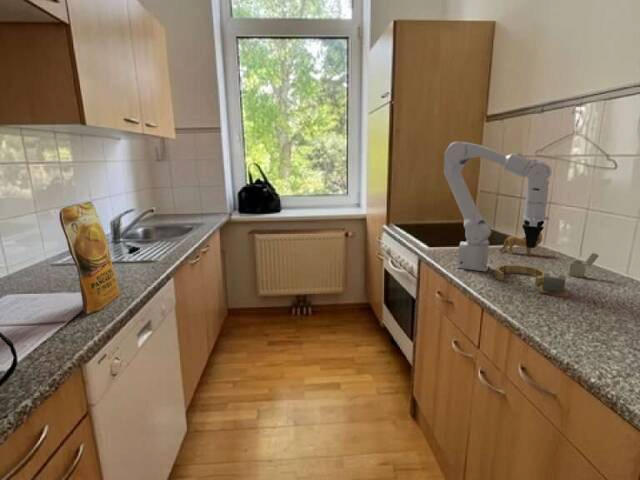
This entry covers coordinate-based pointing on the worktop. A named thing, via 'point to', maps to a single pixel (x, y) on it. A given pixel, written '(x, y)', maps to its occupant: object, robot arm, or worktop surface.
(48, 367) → the worktop surface
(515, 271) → the c ring
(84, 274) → the pancake mix bag
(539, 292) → the coaster
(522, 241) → the lion figurine
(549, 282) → the c link
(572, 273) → the lighter
